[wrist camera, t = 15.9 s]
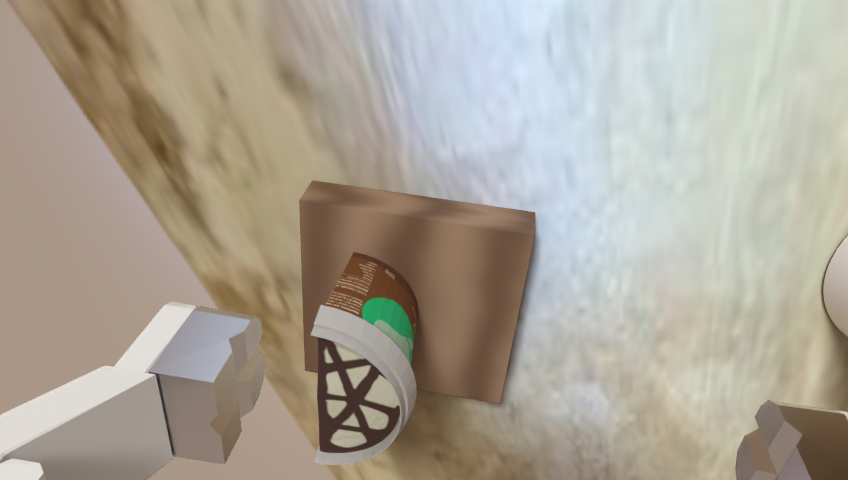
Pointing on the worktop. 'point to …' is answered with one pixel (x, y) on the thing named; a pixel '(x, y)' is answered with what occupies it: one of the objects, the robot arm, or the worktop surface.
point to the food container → (364, 361)
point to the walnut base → (426, 276)
